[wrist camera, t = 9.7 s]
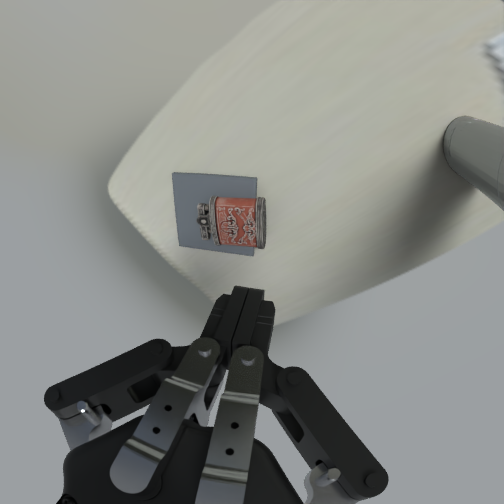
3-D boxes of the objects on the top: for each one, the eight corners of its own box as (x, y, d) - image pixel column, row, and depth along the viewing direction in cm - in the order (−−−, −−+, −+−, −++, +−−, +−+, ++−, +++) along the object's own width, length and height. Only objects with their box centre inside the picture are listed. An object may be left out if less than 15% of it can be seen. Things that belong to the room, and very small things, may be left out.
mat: (257, 177, 38) (256, 179, 38) (254, 254, 46) (253, 256, 45) (173, 172, 40) (172, 173, 40) (180, 244, 47) (179, 245, 47)
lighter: (265, 193, 38) (198, 191, 40) (261, 204, 36) (190, 201, 38) (266, 240, 43) (205, 236, 45) (262, 253, 41) (198, 248, 42)
